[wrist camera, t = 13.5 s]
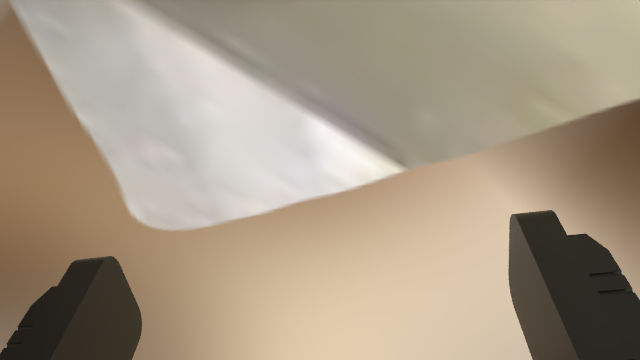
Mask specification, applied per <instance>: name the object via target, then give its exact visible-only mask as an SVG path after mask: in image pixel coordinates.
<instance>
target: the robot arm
mask: <svg viewBox="0 0 640 360" xmlns="http://www.w3.org/2000/svg"><path fill="white" fill-rule="evenodd" d="M509 235H510V236H509V239H510V240H509V285H510V292H511V297H512V301H513V305H514V308H515V311H516V314H517V317H518V319H519V322H520V325H521V328H522V331H523V333H524V336H525V339H526V342H527V345H528V348H529V350H530V353H531V356H532V359H533V360H640V300H639V298H638V297H637V295H636V294H635V293H633V291H632V287H631V286H630V284H629V282H628V281H627V279H626V277H625V276H624V275H622V273H621V270H620V268H619V266H618V265H617V263H616V262H615V260H614V258H613V257H612V255H611V253H610V252H609V250H607V249H606V248H605V247H603V246H602V245H601V244H599V243H598V242H597V241H595V240H594V239H592V238H591V237H589V236H588V235H587V234H578V235H567V234H566V232H565V230H564V229H563V227H562V225H561V223H560V221H559V219H558V217H557V216H556V214H555V212H553V211H552V210H548V211H539V212H529V213H520V214H512V215H511V218H510V233H509ZM141 330H142V320H141V313H140V309H139V307H138V304H137V302H136V300H135V298H134V295H133V293H132V292H131V289H130V287H129V284H128V282H127V280H126V278H125V275H124V273H123V271H122V269H121V266H120V264H119V262H118V261H117V260H116V259H115V258H114V257H112V256H109V257H98V258H89V259H80V260H75V261H74V262H72V263H71V265H70V266H69V268H68V270H67V272H66V273H65V275H64V276H63V278H62V279H61V281H60V283H59V284H58V286H55V287H51V288H50V289H49V290H48V291H47V292H46V293H45V294H44V295H43V296H41V297H40V298H39V299H38V300H37V301H36V302H35V303H34V304H32V306H31V307H30V308H29V310H28V311H27V313H26V314H25V316H24V318H23V319H22V321H21V322H20V324H19V326H18V331H15V332H14V333H13V335H12V336H11V338H10V339H9V341H8V343H7V348H4V349H3V350H2V352H1V354H0V360H132V358H133V355H134V352H135V350H136V347H137V345H138V342H139V339H140V336H141Z"/></svg>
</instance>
